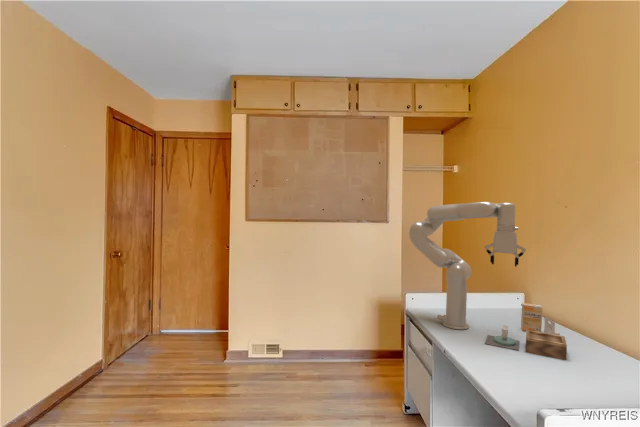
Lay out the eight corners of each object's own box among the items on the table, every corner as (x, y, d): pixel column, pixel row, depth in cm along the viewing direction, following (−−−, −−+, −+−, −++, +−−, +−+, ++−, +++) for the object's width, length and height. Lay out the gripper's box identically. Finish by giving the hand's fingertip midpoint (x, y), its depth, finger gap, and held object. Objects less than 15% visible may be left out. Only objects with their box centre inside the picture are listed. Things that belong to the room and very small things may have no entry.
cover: (494, 337, 163) (495, 323, 163) (515, 341, 159) (516, 327, 159) (493, 343, 156) (493, 328, 156) (515, 347, 152) (515, 332, 152)
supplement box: (522, 331, 176) (523, 304, 176) (520, 328, 180) (521, 302, 180) (541, 333, 173) (542, 306, 173) (539, 330, 177) (540, 304, 177)
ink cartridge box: (549, 336, 169) (549, 316, 169) (559, 345, 158) (560, 323, 158) (543, 336, 170) (544, 315, 170) (553, 344, 159) (554, 322, 159)
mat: (484, 344, 156) (484, 343, 156) (487, 335, 167) (487, 334, 167) (518, 350, 149) (518, 349, 149) (519, 341, 160) (519, 340, 160)
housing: (525, 351, 148) (526, 337, 148) (525, 343, 159) (526, 329, 159) (566, 360, 141) (566, 344, 141) (563, 350, 151) (564, 336, 151)
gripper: (526, 229, 167) (525, 266, 167) (486, 227, 175) (484, 262, 175) (526, 230, 160) (525, 268, 160) (484, 228, 169) (483, 264, 169)
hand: (504, 265), depth 168 cm, fingers open, 9 cm apart
